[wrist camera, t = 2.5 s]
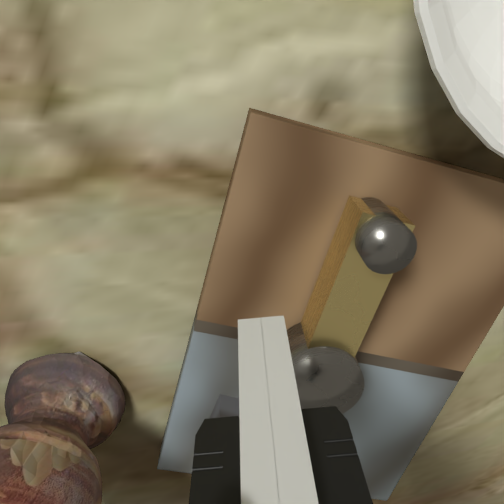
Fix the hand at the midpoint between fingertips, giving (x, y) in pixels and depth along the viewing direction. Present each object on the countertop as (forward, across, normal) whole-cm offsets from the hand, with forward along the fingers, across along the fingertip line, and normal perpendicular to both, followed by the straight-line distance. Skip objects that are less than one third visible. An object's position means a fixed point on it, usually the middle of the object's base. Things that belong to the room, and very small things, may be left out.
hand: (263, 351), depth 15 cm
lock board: (+11, +4, -8) cm, 14 cm away
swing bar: (+9, +4, -4) cm, 10 cm away
